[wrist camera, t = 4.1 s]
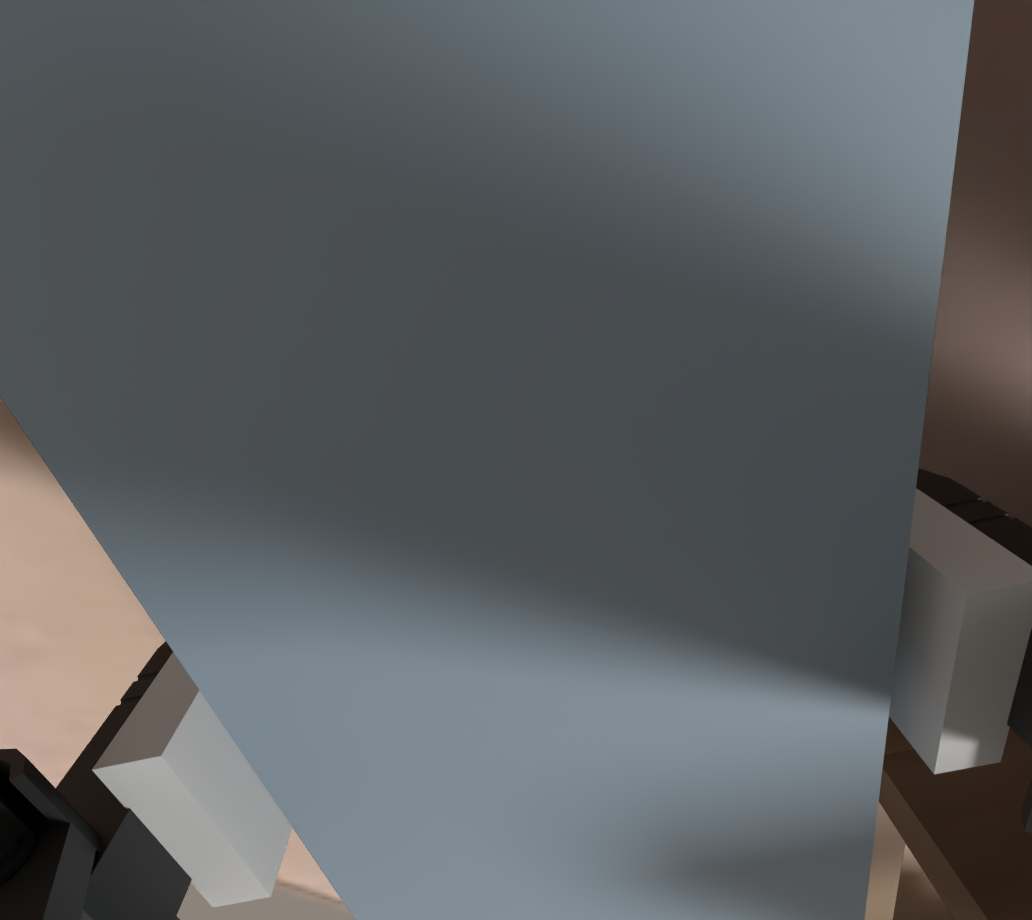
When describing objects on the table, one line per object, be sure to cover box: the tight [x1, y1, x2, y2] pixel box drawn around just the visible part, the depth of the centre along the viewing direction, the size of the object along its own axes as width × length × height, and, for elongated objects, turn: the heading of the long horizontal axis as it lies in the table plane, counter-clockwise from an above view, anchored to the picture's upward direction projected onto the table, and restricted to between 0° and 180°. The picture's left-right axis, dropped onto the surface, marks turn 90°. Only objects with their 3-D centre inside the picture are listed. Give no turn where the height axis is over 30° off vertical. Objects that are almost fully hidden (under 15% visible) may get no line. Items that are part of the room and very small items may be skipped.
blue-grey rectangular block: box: [0, 0, 974, 920], centre depth 8 cm, size 16×7×4 cm, turn 13°
